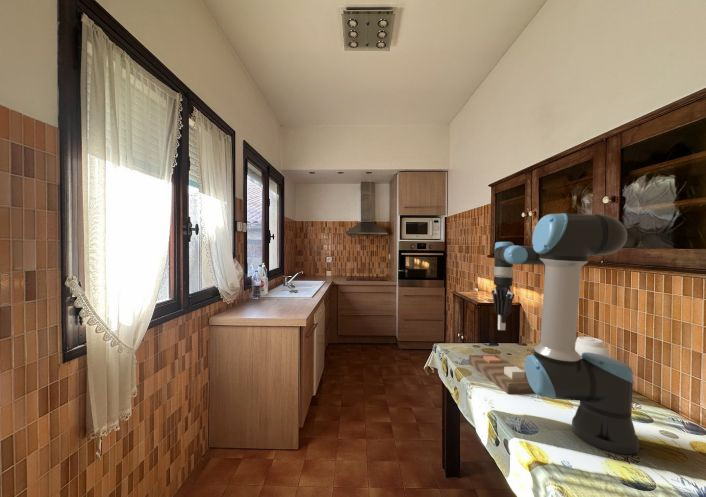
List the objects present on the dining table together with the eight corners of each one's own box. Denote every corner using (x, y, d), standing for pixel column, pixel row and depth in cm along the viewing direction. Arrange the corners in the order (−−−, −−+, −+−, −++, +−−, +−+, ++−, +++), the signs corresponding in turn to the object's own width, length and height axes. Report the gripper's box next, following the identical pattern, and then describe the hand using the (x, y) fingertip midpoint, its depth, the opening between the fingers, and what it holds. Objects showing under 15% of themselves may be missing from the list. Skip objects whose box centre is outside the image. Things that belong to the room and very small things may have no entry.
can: (564, 380, 130) (566, 332, 130) (599, 385, 126) (601, 336, 126) (575, 393, 118) (577, 341, 118) (615, 399, 114) (617, 345, 114)
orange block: (500, 370, 137) (500, 360, 137) (489, 370, 136) (489, 360, 136) (493, 365, 142) (493, 356, 142) (482, 366, 141) (483, 356, 141)
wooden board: (542, 393, 117) (542, 382, 117) (508, 394, 115) (508, 383, 115) (496, 363, 147) (497, 355, 147) (468, 363, 145) (469, 355, 145)
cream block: (524, 383, 121) (524, 371, 121) (511, 383, 120) (512, 371, 120) (515, 377, 126) (516, 366, 126) (503, 377, 125) (504, 366, 125)
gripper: (520, 278, 131) (519, 333, 131) (501, 275, 144) (500, 326, 144) (504, 277, 130) (502, 333, 130) (487, 275, 143) (485, 326, 143)
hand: (501, 329), depth 137 cm, fingers closed
